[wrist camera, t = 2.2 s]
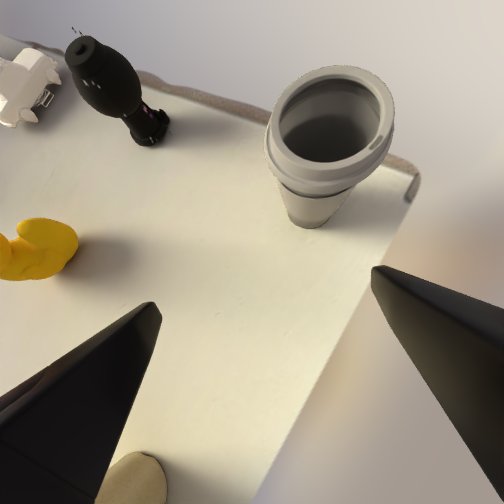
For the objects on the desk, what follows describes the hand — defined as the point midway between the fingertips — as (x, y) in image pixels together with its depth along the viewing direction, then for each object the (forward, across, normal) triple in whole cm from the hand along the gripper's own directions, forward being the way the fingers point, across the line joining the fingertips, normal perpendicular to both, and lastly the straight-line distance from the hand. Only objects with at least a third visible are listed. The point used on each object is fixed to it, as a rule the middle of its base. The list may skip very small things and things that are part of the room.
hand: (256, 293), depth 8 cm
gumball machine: (+24, +13, -10) cm, 29 cm away
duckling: (+15, +27, +2) cm, 31 cm away
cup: (+15, -5, +2) cm, 16 cm away
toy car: (+32, +32, -19) cm, 49 cm away
